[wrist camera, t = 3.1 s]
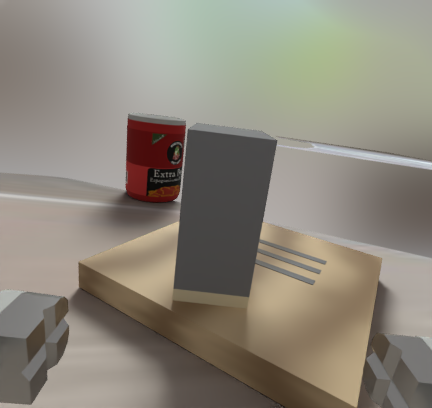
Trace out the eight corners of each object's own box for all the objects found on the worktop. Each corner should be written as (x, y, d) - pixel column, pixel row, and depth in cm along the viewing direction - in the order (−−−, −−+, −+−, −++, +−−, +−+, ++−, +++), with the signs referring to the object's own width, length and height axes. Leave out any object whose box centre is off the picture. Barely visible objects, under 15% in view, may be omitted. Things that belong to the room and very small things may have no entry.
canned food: (152, 207, 40) (157, 119, 36) (113, 191, 44) (114, 111, 41) (190, 197, 46) (198, 121, 42) (153, 184, 50) (157, 114, 47)
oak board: (78, 287, 22) (78, 261, 21) (211, 222, 37) (213, 206, 36) (345, 441, 14) (356, 407, 13) (376, 277, 29) (382, 257, 28)
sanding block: (247, 308, 18) (277, 140, 15) (172, 300, 18) (187, 129, 15) (241, 261, 24) (262, 131, 21) (183, 254, 24) (196, 122, 21)
